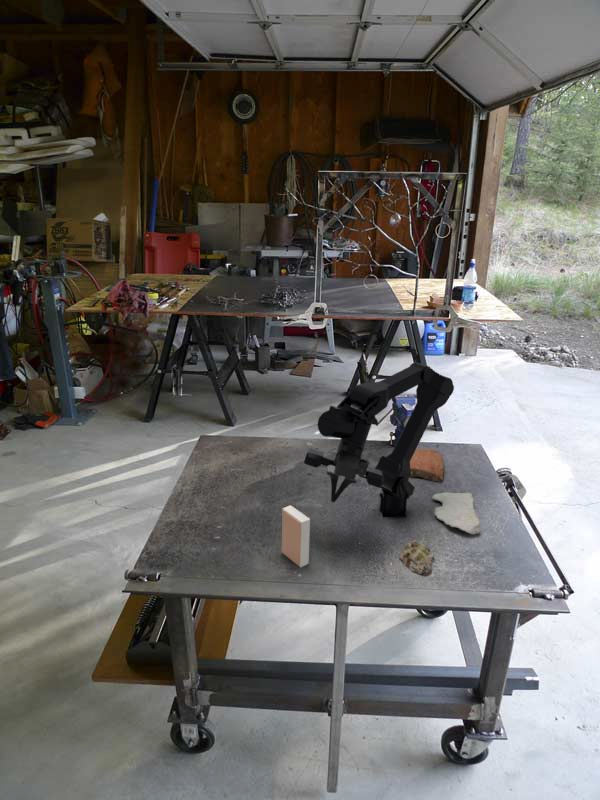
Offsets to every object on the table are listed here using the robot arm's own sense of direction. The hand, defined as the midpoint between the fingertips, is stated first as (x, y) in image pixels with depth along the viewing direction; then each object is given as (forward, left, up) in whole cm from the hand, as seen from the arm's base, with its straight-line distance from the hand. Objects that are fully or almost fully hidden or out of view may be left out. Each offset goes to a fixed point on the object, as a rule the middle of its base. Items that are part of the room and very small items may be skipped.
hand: (332, 501), depth 141 cm
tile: (+9, +6, -11) cm, 16 cm away
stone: (-34, -10, -12) cm, 38 cm away
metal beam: (+28, -7, -12) cm, 31 cm away
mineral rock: (-19, +9, -12) cm, 24 cm away
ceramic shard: (-31, -35, -12) cm, 48 cm away
